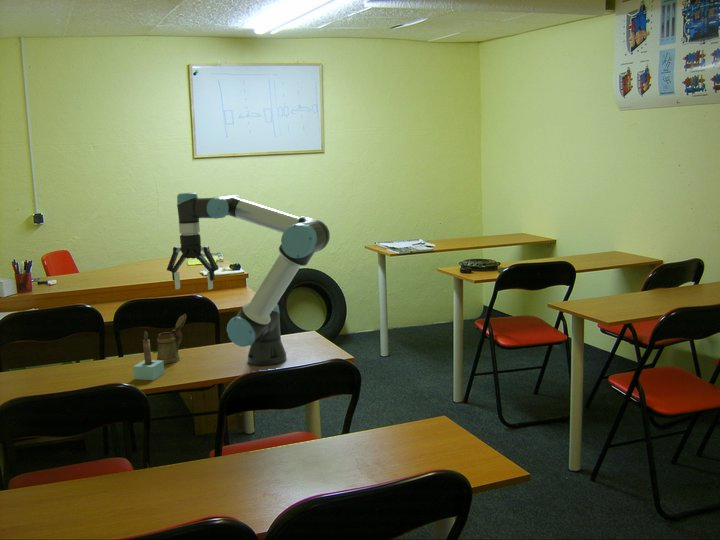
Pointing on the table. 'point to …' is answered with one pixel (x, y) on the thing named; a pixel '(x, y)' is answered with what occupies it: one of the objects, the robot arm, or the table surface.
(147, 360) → the brown stepped rod
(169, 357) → the wooden mug
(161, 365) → the bead
